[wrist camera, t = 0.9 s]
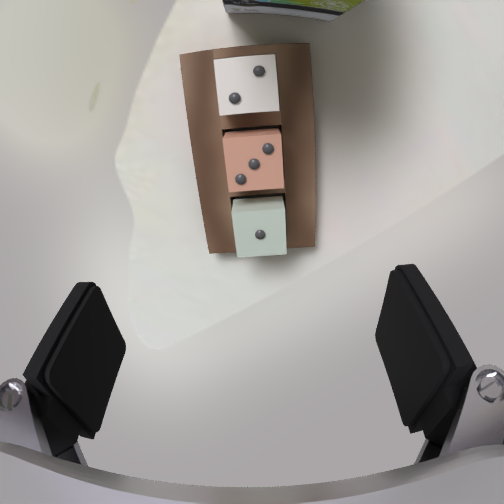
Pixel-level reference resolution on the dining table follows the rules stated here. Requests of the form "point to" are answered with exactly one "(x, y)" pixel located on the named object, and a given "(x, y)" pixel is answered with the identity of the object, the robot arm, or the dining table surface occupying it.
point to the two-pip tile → (246, 84)
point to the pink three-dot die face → (253, 160)
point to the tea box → (293, 7)
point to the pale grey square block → (259, 226)
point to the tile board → (289, 118)
